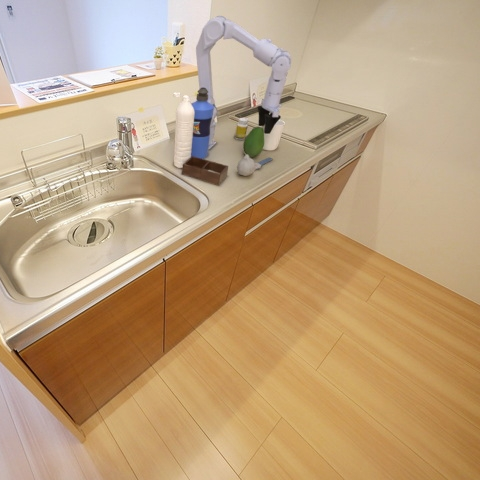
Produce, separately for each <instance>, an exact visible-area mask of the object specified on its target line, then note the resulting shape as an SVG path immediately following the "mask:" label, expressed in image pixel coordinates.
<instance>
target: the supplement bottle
mask: <svg viewBox="0 0 480 480" xmlns="http://www.w3.org/2000/svg"><path fill="white" fill-rule="evenodd" d="M248 123H249V119H248V118H247V117H240V118H238V123H237V124H236V128H235V133H234V134H235V135H234V138H235V140H239V141H244V140H245V138H246V137H247V131H248V127H249V125H248Z"/></svg>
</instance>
